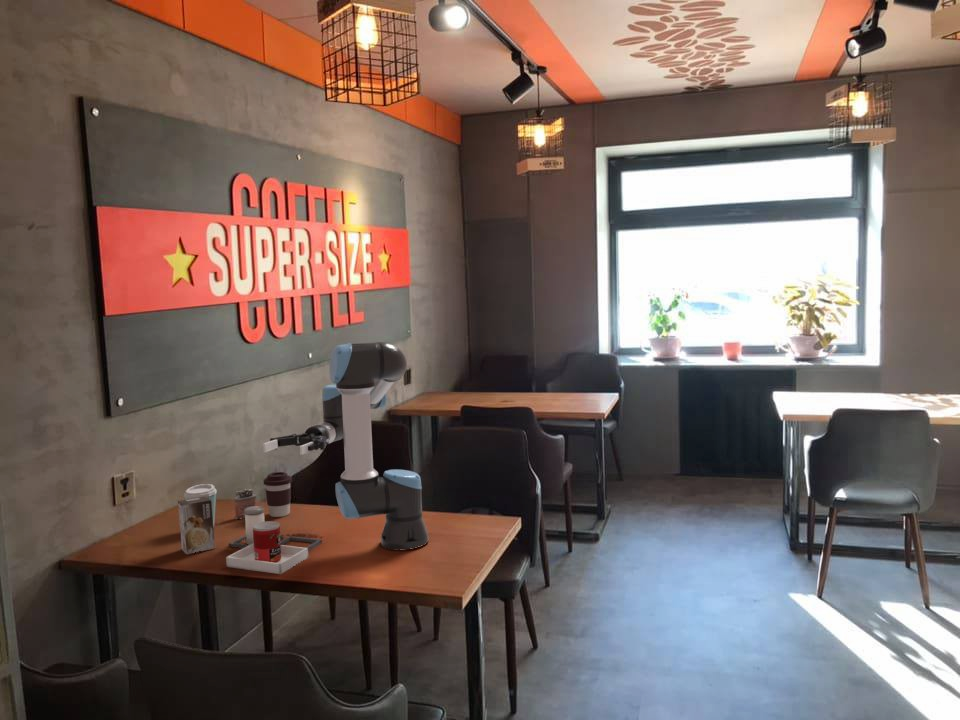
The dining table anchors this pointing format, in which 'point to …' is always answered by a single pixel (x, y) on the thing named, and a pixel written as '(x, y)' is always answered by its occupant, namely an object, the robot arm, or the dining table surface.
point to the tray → (248, 562)
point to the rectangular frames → (314, 541)
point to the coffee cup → (278, 493)
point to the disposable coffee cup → (203, 494)
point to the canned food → (267, 541)
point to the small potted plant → (244, 502)
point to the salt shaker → (252, 520)
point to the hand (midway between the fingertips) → (282, 449)
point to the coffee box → (196, 524)
